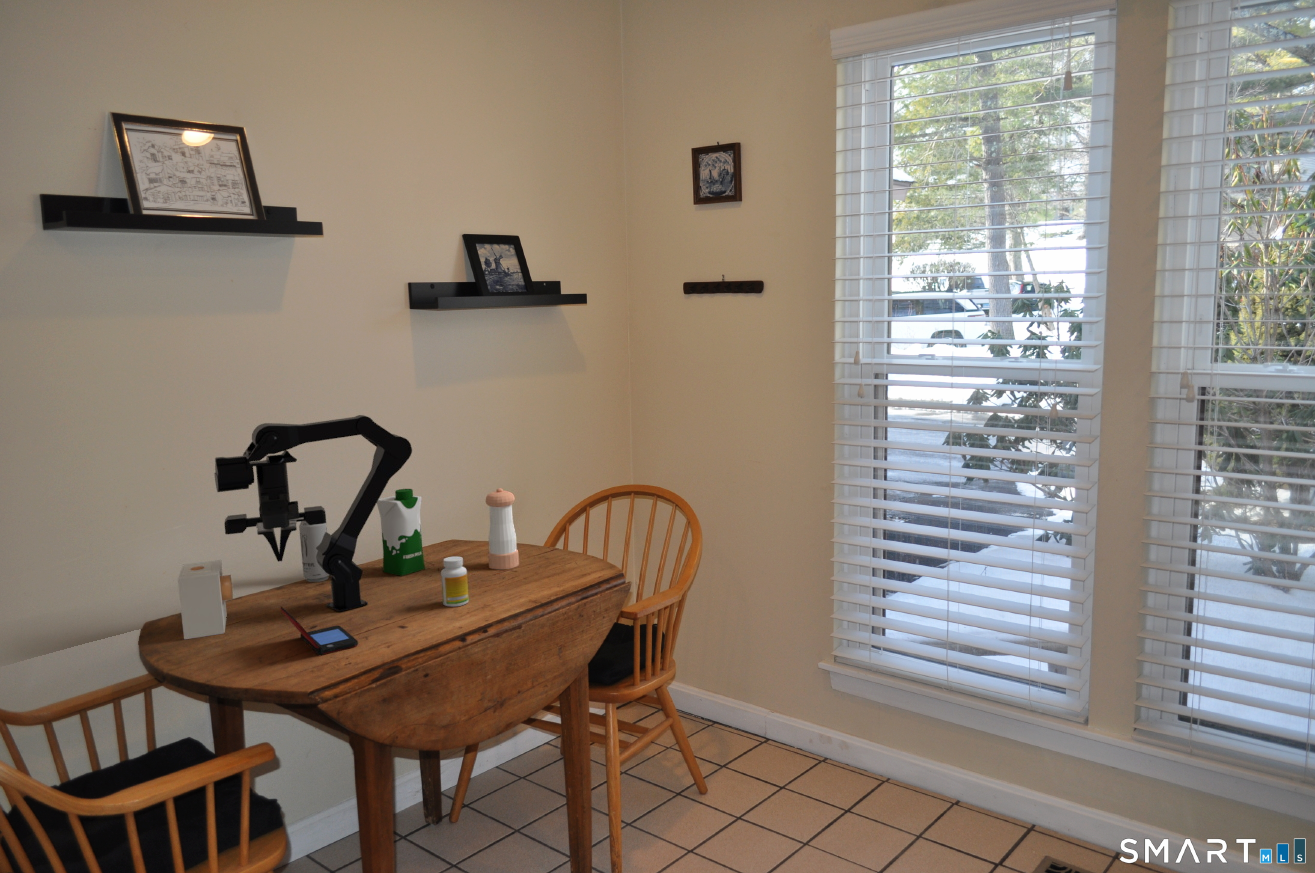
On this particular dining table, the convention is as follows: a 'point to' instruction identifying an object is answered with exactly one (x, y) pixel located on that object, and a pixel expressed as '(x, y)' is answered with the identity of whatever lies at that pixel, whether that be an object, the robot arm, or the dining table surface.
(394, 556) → the milk carton
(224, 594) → the button
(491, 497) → the pepper shaker
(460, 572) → the supplement bottle
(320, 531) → the energy drink can
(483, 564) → the dining table surface
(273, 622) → the dining table surface
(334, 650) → the handheld game console
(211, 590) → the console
